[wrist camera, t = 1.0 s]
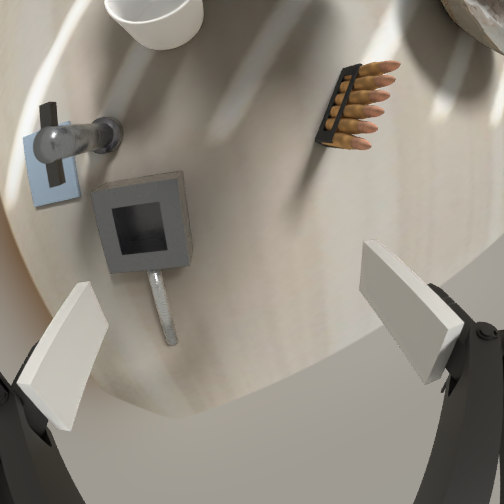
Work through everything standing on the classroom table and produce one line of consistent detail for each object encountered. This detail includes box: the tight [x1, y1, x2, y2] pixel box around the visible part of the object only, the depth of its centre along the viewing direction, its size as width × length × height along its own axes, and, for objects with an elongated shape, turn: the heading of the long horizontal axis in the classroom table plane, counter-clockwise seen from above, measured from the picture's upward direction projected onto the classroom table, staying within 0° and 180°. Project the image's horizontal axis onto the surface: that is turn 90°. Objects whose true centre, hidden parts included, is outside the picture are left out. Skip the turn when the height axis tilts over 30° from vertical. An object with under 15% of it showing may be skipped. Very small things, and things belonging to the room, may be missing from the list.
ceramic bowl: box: [441, 0, 504, 55], centre depth 19 cm, size 22×23×10 cm
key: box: [33, 102, 123, 188], centre depth 23 cm, size 7×4×14 cm, turn 4°
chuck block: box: [91, 171, 193, 346], centre depth 35 cm, size 23×10×5 cm, turn 4°
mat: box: [23, 121, 81, 207], centre depth 30 cm, size 10×8×1 cm
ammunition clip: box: [315, 61, 401, 150], centre depth 26 cm, size 11×2×12 cm, turn 160°
